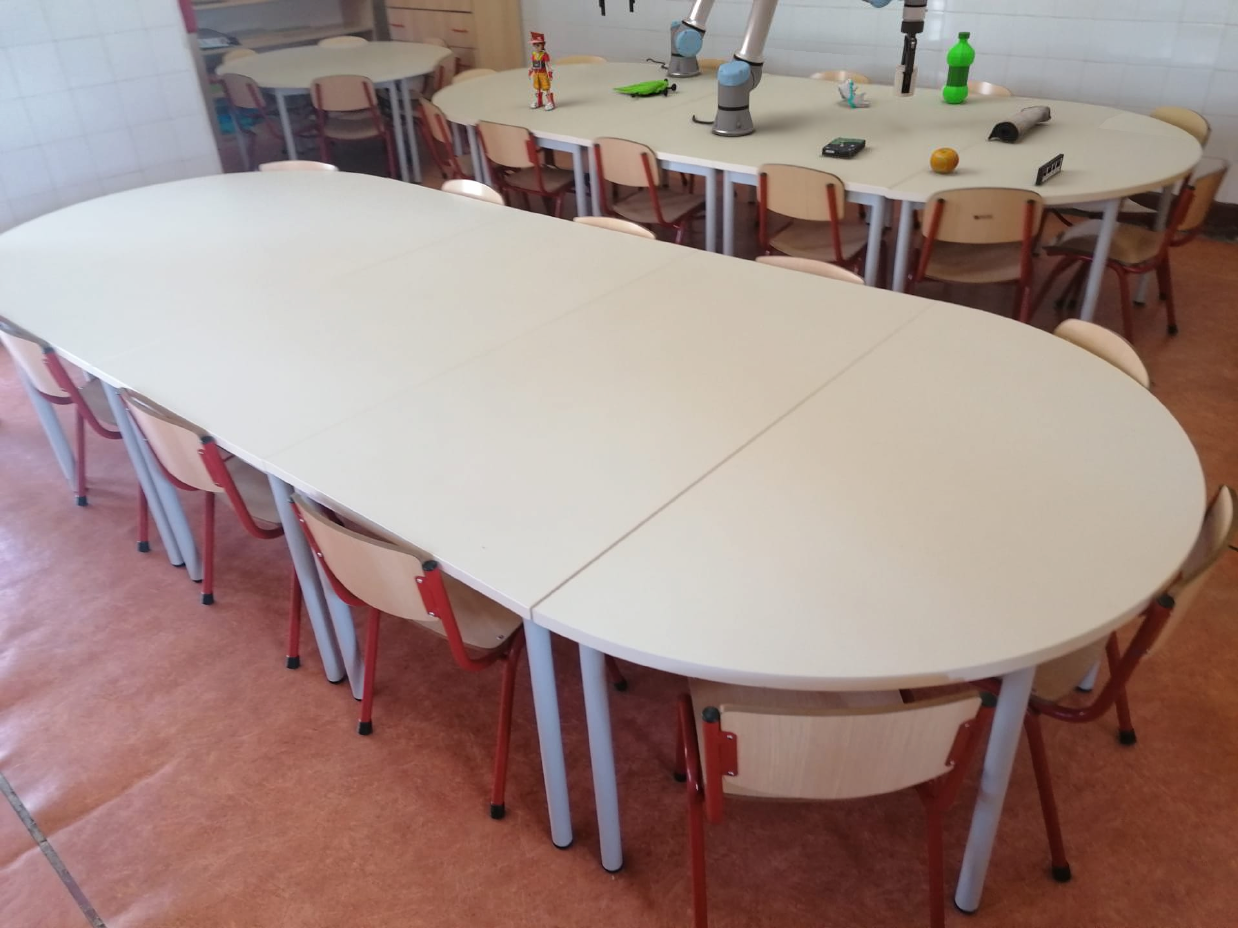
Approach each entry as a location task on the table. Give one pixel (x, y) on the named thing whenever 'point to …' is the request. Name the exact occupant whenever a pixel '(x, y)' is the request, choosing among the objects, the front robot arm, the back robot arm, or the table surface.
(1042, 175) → the midi keyboard
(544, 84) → the toy
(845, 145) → the disk drive
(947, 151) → the fruit
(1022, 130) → the rolled mat
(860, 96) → the anatomical model
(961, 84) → the plastic bottle
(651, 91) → the toy
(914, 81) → the can
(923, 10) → the front robot arm
